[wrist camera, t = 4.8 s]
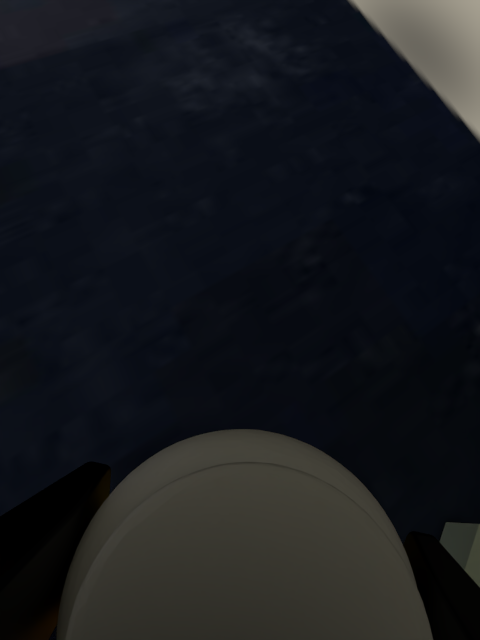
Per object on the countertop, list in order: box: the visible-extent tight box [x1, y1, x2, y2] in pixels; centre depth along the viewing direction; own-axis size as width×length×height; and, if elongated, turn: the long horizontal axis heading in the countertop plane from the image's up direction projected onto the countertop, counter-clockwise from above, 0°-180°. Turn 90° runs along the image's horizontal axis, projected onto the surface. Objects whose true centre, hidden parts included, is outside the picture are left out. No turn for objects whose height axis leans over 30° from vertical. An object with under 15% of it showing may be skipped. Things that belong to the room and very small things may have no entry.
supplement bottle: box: [56, 429, 433, 640], centre depth 9 cm, size 6×6×10 cm
